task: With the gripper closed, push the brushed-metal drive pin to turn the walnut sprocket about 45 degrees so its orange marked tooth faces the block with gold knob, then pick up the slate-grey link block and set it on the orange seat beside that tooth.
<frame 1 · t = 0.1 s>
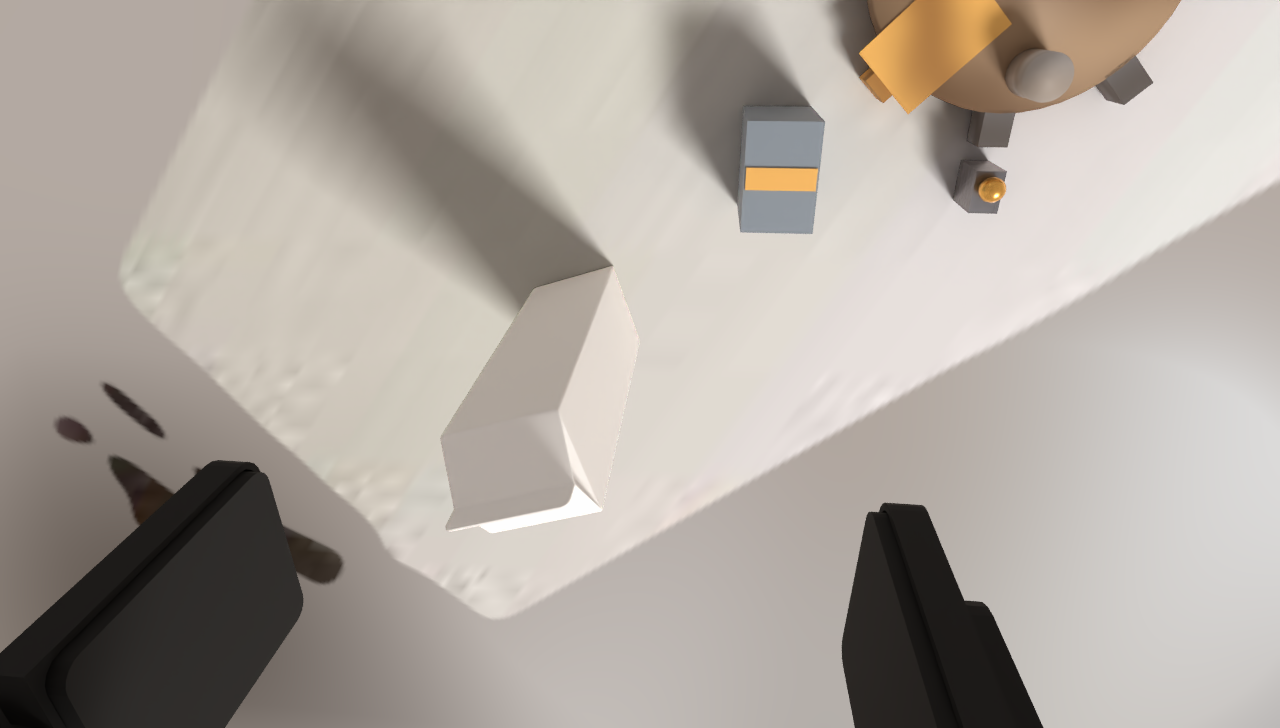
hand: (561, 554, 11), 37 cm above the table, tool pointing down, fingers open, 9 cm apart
link block: (772, 157, 43), on the table
block with gold knob: (970, 180, 43), on the table
milk: (588, 313, 50), on the table
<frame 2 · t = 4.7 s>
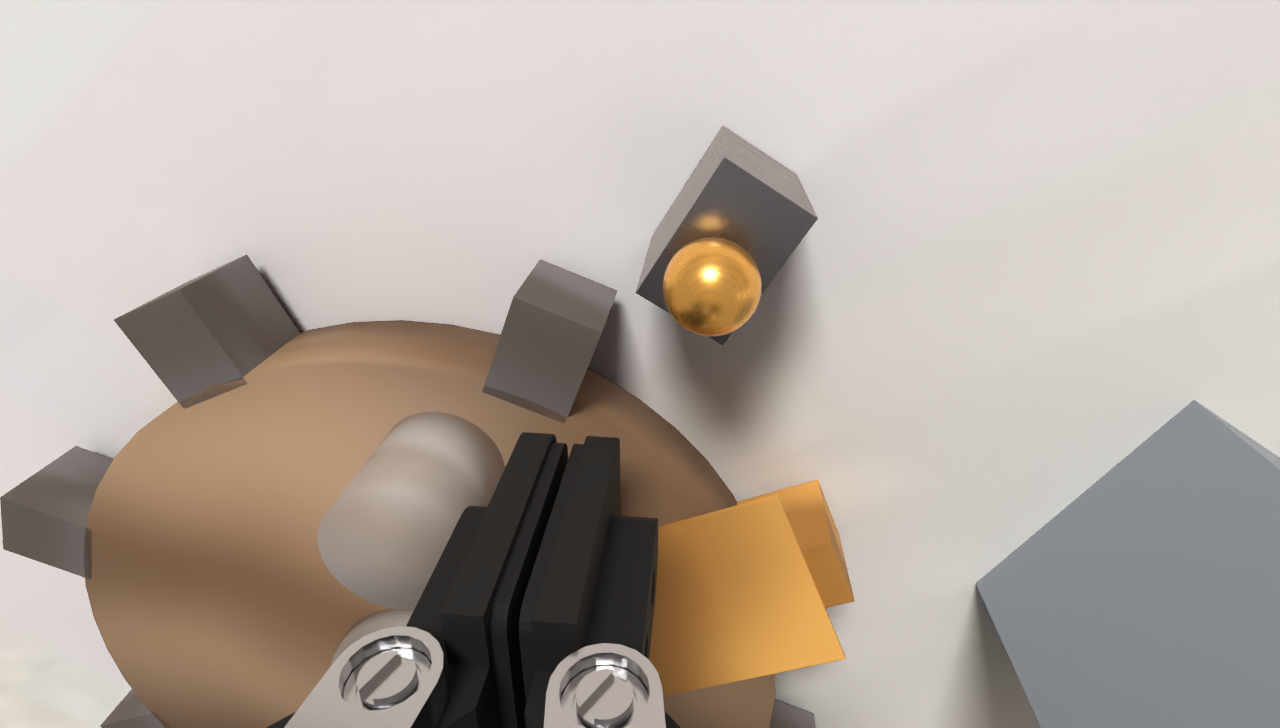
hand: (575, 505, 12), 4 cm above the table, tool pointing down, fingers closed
sprocket: (421, 681, 16), point 3 cm above the table, hinge at 9.6°, touching gripper
link block: (1142, 540, 16), on the table
block with gold knob: (722, 206, 13), on the table
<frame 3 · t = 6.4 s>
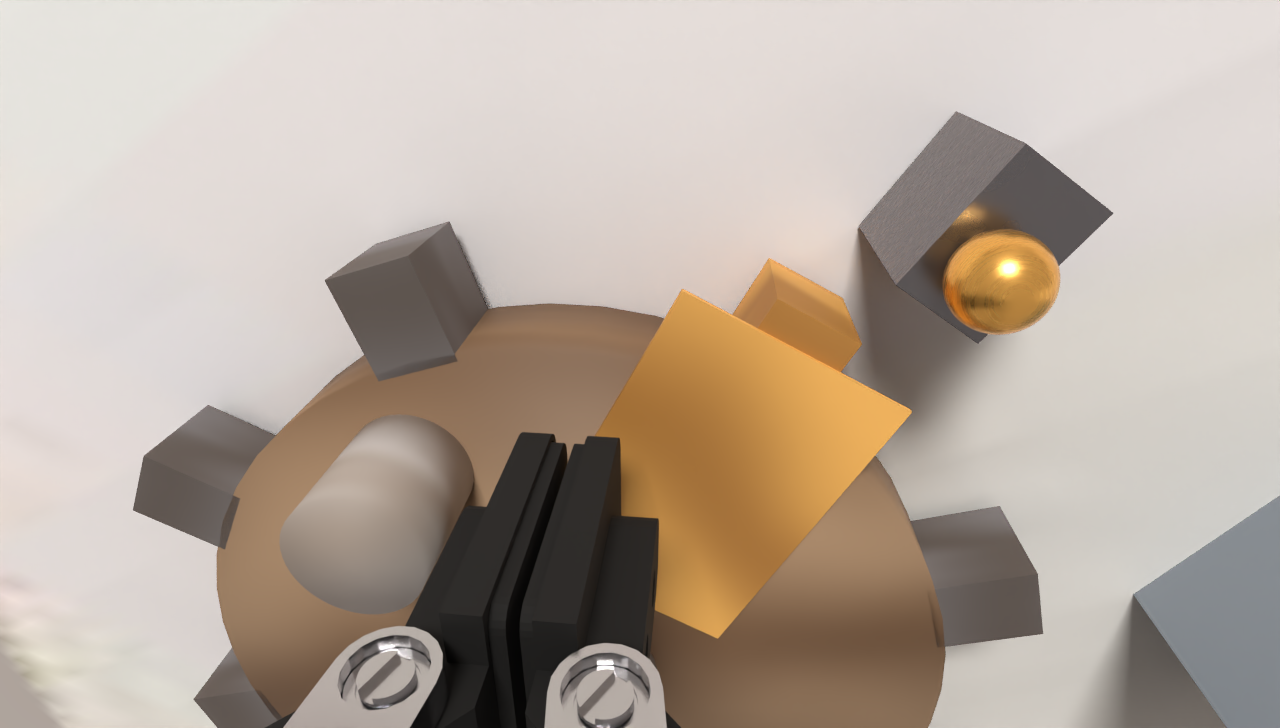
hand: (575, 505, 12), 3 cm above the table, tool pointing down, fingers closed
sprocket: (566, 680, 15), point 3 cm above the table, hinge at 51.0°
block with gold knob: (939, 197, 12), on the table
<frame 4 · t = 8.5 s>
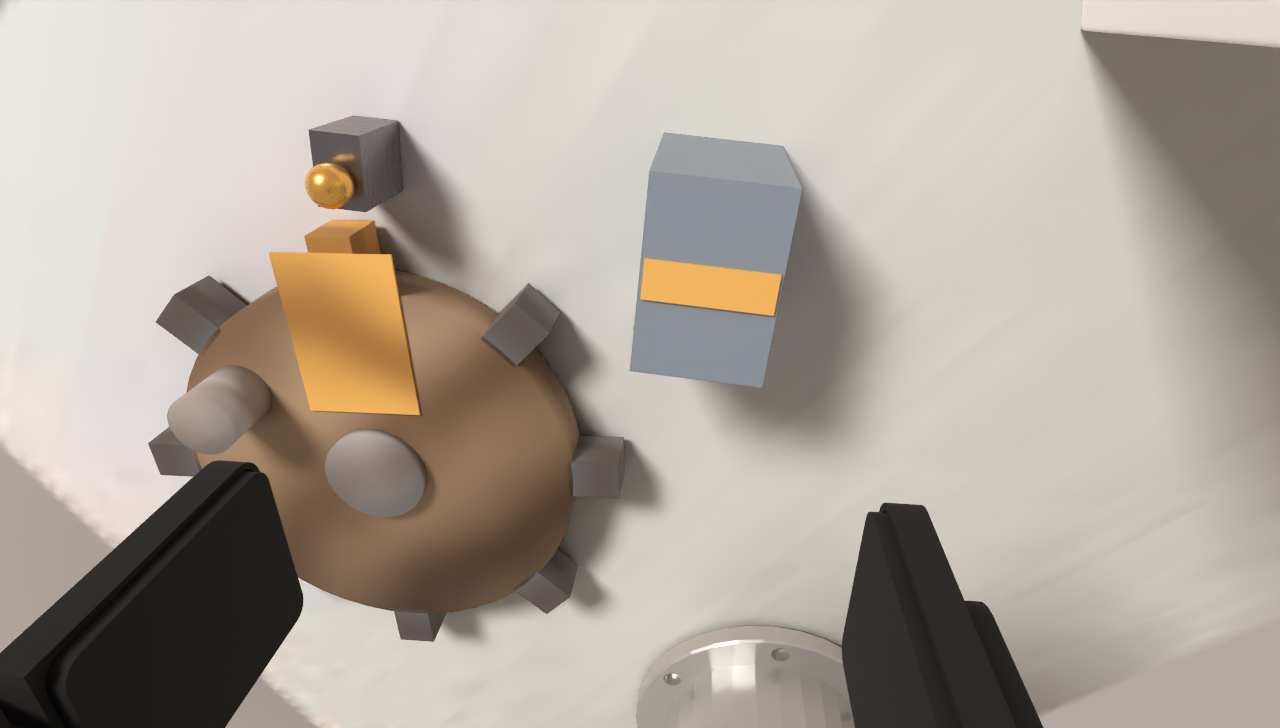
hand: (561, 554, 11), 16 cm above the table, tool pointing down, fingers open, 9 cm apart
sprocket: (376, 474, 28), point 3 cm above the table, hinge at 51.0°
link block: (710, 225, 25), on the table
block with gold knob: (378, 153, 25), on the table
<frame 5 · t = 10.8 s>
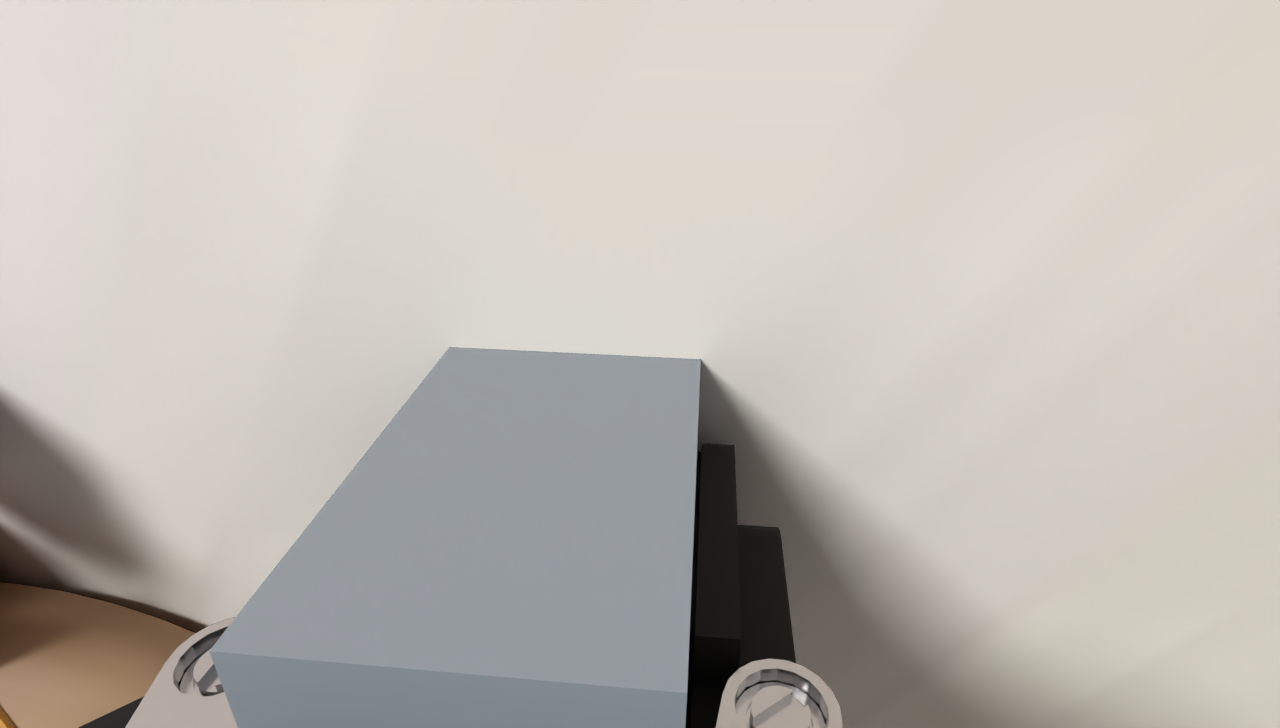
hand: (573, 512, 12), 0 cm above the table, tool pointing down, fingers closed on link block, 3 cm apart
link block: (579, 505, 12), on the table, touching gripper
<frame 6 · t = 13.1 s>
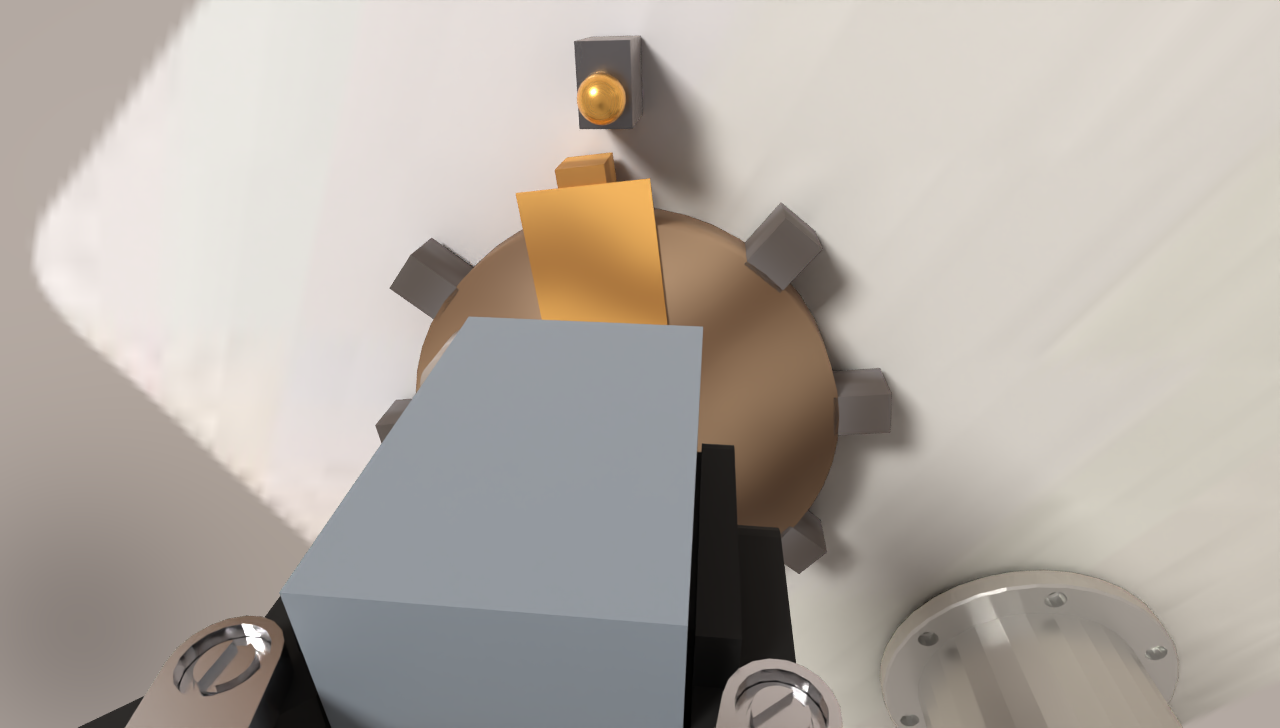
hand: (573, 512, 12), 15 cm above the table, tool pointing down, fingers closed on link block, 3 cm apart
sprocket: (621, 432, 26), point 3 cm above the table, hinge at 51.0°
link block: (591, 461, 13), point 14 cm above the table, touching gripper
block with gold knob: (617, 76, 23), on the table
when the fingers open (5 cm above the table, at t = 15.5 s): link block stays where it is, resting on sprocket.
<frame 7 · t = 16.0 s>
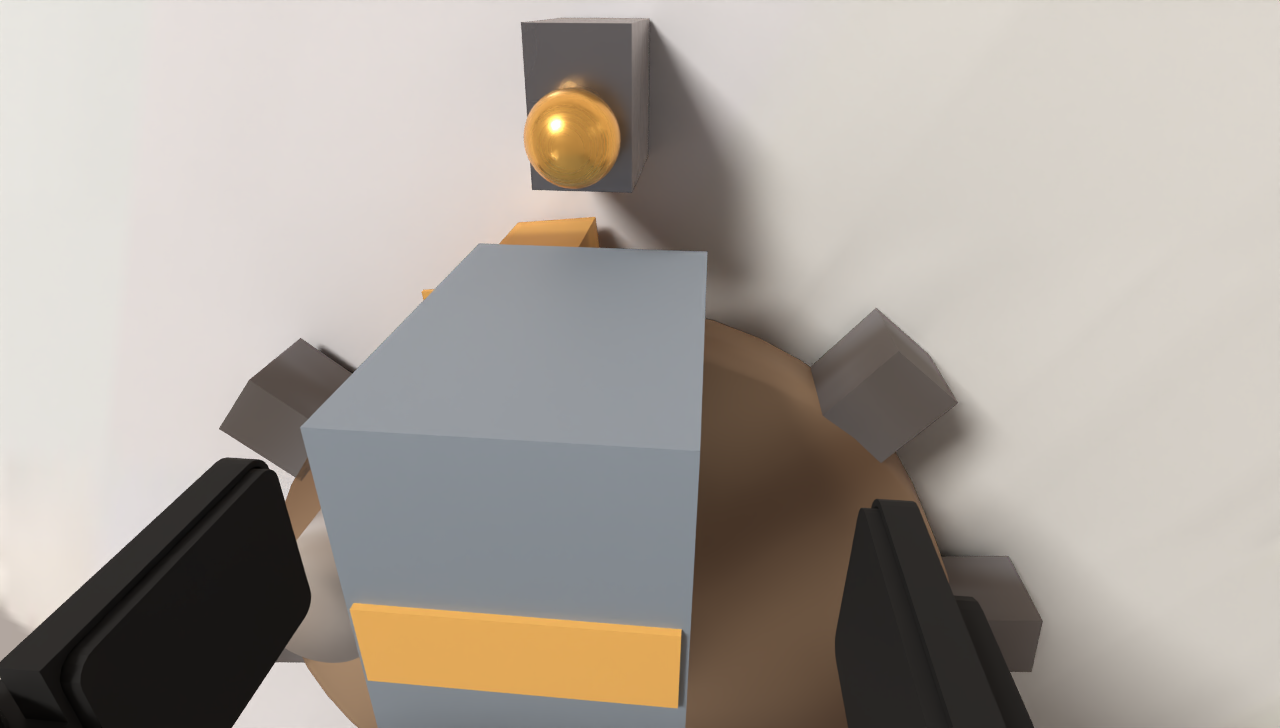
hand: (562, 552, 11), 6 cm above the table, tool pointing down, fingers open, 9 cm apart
sprocket: (600, 651, 17), point 3 cm above the table, hinge at 51.0°, touching link block
link block: (595, 397, 14), point 2 cm above the table, touching sprocket
block with gold knob: (606, 89, 13), on the table
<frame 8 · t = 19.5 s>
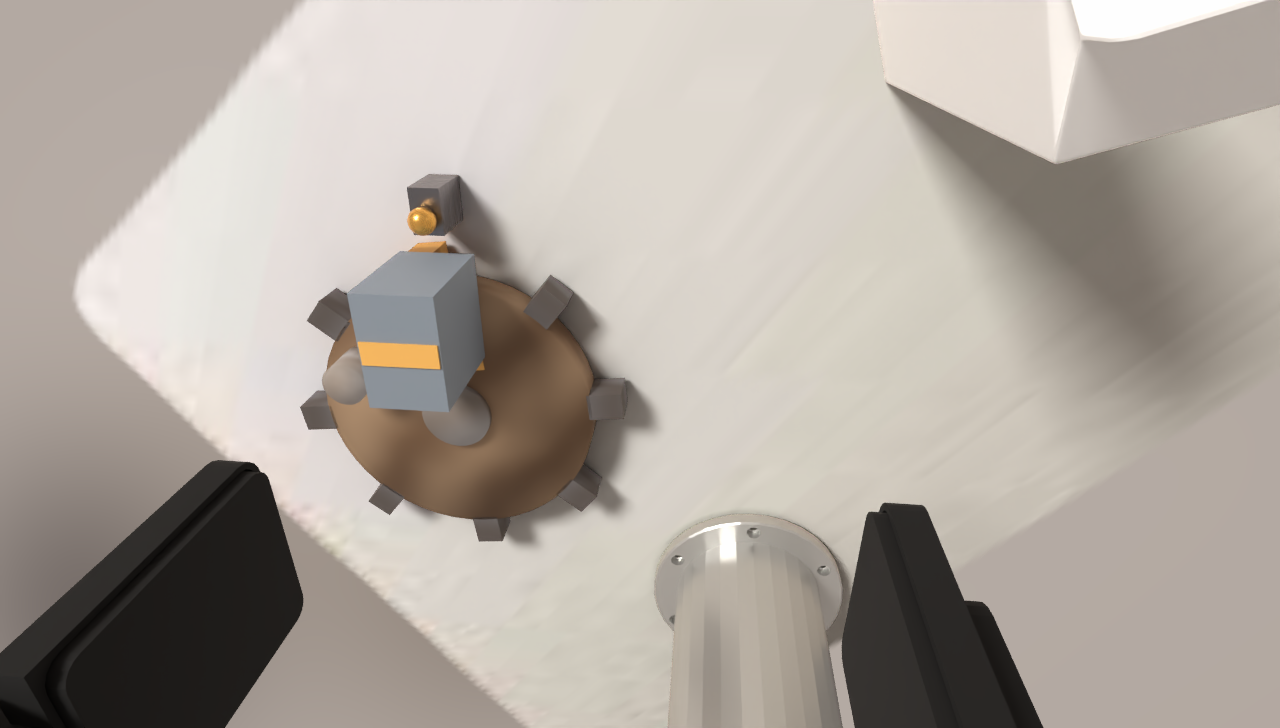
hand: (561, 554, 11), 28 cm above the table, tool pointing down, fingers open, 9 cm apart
sprocket: (456, 415, 41), point 3 cm above the table, hinge at 51.0°, touching link block
link block: (443, 305, 38), point 2 cm above the table, touching sprocket
block with gold knob: (446, 197, 38), on the table
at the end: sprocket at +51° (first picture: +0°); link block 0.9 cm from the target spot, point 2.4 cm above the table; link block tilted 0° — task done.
